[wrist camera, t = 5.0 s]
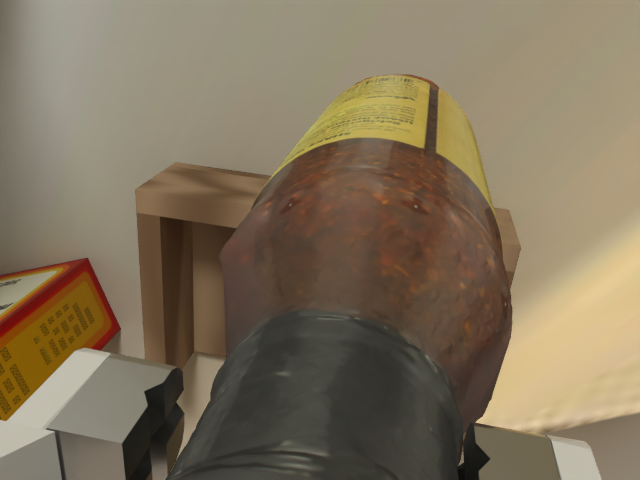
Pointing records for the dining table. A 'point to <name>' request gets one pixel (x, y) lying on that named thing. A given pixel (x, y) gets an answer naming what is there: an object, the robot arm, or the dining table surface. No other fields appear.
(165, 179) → the wooden divided tray
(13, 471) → the robot arm
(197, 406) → the dining table surface
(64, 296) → the baking soda box
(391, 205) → the sauce bottle
